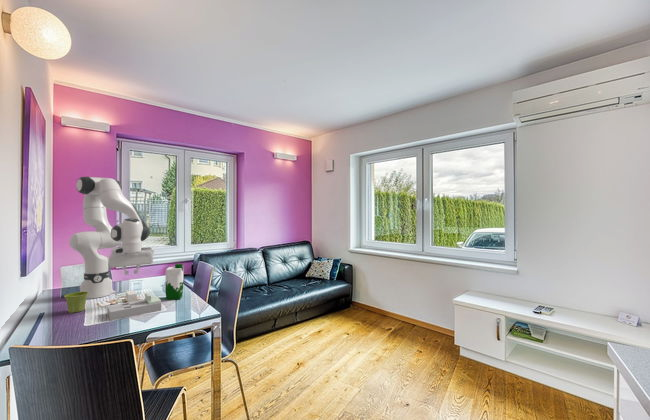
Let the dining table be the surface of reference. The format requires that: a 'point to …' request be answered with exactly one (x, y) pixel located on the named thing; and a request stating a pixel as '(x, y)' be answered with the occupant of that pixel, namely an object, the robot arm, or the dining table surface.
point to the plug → (131, 296)
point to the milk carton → (174, 282)
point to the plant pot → (76, 301)
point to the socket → (131, 309)
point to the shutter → (151, 299)
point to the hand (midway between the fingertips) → (131, 274)
